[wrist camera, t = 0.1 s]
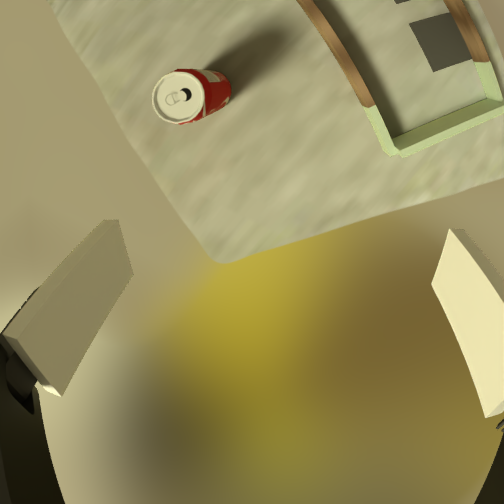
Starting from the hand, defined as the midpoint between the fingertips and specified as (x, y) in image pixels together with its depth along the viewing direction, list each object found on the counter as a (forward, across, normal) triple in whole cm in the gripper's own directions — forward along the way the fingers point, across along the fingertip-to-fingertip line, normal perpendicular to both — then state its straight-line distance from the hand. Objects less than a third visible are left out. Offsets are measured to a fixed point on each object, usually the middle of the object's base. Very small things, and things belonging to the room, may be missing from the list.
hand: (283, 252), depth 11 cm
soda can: (+28, -9, +5) cm, 30 cm away
